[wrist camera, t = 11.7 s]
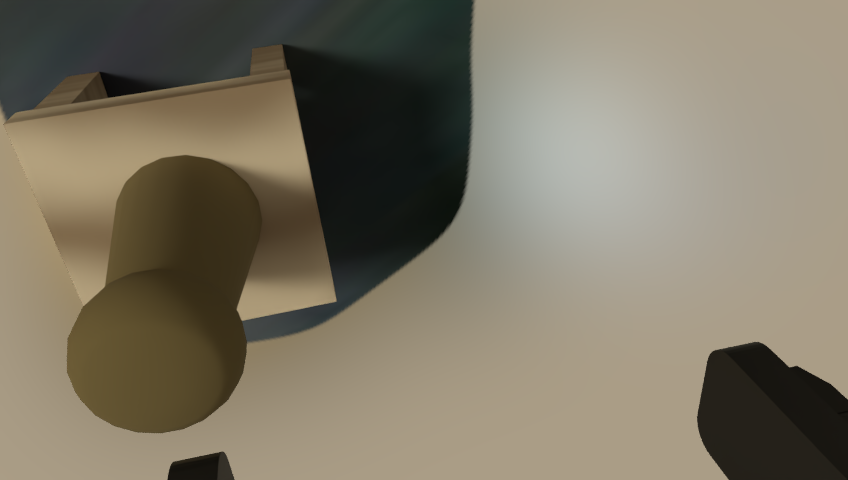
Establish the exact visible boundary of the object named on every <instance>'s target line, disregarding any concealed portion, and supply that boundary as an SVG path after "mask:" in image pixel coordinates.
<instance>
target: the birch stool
mask: <svg viewBox="0 0 848 480" xmlns="http://www.w3.org/2000/svg"><path fill="white" fill-rule="evenodd" d="M3 125H4V127H5V129H6V132H7V134H8V136H9V138H10V141H11V143H12V145H13V148H14V150H15V152H16V154H17V157H18V159H19V161H20V163H21V166H22V168H23V170H24V173H25V175H26V177H27V179H28V182H29V184H30V186H31V188H32V191H33V193H34V195H35V198H36V200H37V202H38V204H39V206H40V209H41V211H42V213H43V215H44V218H45V220H46V222H47V225H48V227H49V229H50V232H51V234H52V236H53V238H54V241H55V243H56V245H57V247H58V250H59V252H60V254H61V257H62V259H63V261H64V263H65V266H66V268H67V270H68V272H69V275H70V277H71V279H72V281H73V284H74V286H75V288H76V290H77V293H78V295H79V297H80V300H81V302H82V304H83V306H84V305H86V304H87V303H88V302H89V301H90V300H91V299H92V298H93V297H94V296H95V295H96V294H98V293H99V292H100V291H101V290H102V289H103V288H104V287H105V282H106V275H107V267H108V260H109V253H110V245H111V238H112V231H113V223H114V216H115V209H116V201H117V199H118V197H119V195H120V192H121V190H122V188H123V186H124V184H125V182H126V181H127V180H128V179H129V178H130V177H131V176H132V175H133V174H135V173H136V172H137V171H138V170H139V169H140V168H141V167H143V166H145V165H147V164H149V163H152V162H154V161H156V160H158V159H160V158H164V157H172V156H180V155H190V156H196V157H203V158H209V159H212V160H214V161H216V162H218V163H220V164H222V165H225V166H227V167H229V168H231V169H232V170H233V171H235V172H236V173H237V174H238V175H239V176H240V177H241V178H242V179H244V180H245V181H246V182H247V183H248V184H249V186H250V188H251V189H252V191H253V193H254V194H255V196H256V198H257V199H258V201H259V206H260V211H261V216H262V226H261V232H260V238H259V242H258V245H257V248H256V251H255V254H254V257H253V260H252V263H251V266H250V269H249V273H248V276H247V279H246V282H245V285H244V288H243V291H242V294H241V297H240V300H239V304H238V307H237V311H238V313H239V315H240V318H241V320H242V321H243V320H248V319H253V318H258V317H262V316H267V315H272V314H277V313H282V312H287V311H292V310H297V309H302V308H307V307H312V306H317V305H322V304H326V303H331V302H336V295H335V289H334V283H333V279H332V274H331V269H330V264H329V259H328V254H327V249H326V245H325V240H324V235H323V230H322V225H321V220H320V215H319V211H318V206H317V201H316V196H315V191H314V186H313V181H312V177H311V172H310V167H309V162H308V157H307V152H306V147H305V143H304V138H303V133H302V128H301V123H300V118H299V113H298V109H297V104H296V99H295V94H294V89H293V84H292V79H291V75H290V70H287V66H286V61H285V56H284V51H283V46H282V44H280V45H274V46H267V47H260V48H254V49H252V59H251V69H250V76H246V77H240V78H233V79H227V80H221V81H214V82H208V83H201V84H195V85H189V86H182V87H176V88H169V89H163V90H157V91H150V92H144V93H137V94H131V95H125V96H118V97H112V98H108V96H107V93H106V90H105V87H104V84H103V82H102V79H101V76H100V73H99V72H95V73H88V74H82V75H75V76H69V77H67V78H65V79H64V80H63V81H62V82H61V83H60V84H59V85H58V86H57V87H56V88H55V89H54V90H53V91H52V92H51V93H50V94H49V95H48V96H47V97H46V98H45V99H44V100H43V101H42V102H41V103H40V104H39V105H37V106H36V107H35V108H34V109H33V110H29V111H22V112H16V113H15V114H14V115H13V116H12V117H11V118H10V119H8V120H7V121H6V122H5V123H4V124H3Z"/></svg>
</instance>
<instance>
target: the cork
mask: <svg viewBox="0 0 848 480" xmlns="http://www.w3.org/2000/svg"><path fill="white" fill-rule="evenodd" d="M261 226H262V216H261V211H260V206H259V201H258V199H257V198H256V196H255V194H254V193H253V191H252V189H251V188H250V186H249V184H248V183H247V182H246V181H245V180H244V179H242V178H241V177H240V176H239V175H238V174H237V173H236V172H235V171H233V170H232V169H231V168H229V167H227V166H225V165H222V164H220V163H218V162H216V161H214V160H212V159H209V158H203V157H196V156H190V155H180V156H172V157H164V158H160V159H158V160H156V161H154V162H152V163H149V164H147V165H145V166H143V167H141V168H140V169H139V170H138V171H137V172H136V173H135V174H133V175H132V176H131V177H130V178H129V179H128V180H127V181H126V182H125V184H124V186H123V188H122V190H121V192H120V195H119V197H118V199H117V201H116V209H115V216H114V223H113V231H112V238H111V245H110V253H109V260H108V267H107V275H106V282H105V287H104V288H103V289H102V290H101V291H100V292H99V293H98V294H96V295H95V296H94V297H93V298H92V299H91V300H90V301H89V302H88V303H87V304H86V305H84V306H83V308H82V310H81V312H80V314H79V316H78V318H77V320H76V322H75V324H74V326H73V328H72V331H71V333H70V335H69V337H68V346H67V373H68V375H69V378H70V380H71V382H72V385H73V388H74V390H75V392H76V394H77V395H78V396H79V398H80V399H81V401H82V402H83V403H85V405H86V406H87V407H88V408H89V409H90V410H91V411H92V412H93V413H94V414H95V415H96V416H98V417H99V418H101V419H103V420H105V421H106V422H108V423H110V424H112V425H114V426H116V427H120V428H123V429H127V430H131V431H134V432H143V433H144V432H145V433H164V432H170V431H175V430H181V429H185V428H187V427H189V426H191V425H193V424H196V423H198V422H200V421H202V420H204V419H205V418H207V417H208V416H209V415H211V414H212V413H213V412H214V411H216V410H217V409H218V408H219V407H220V406H222V405H223V404H224V403H225V402H226V401H227V400H228V399H229V397H230V396H231V394H232V392H233V391H234V389H235V387H236V386H237V384H238V382H239V380H240V378H241V376H242V374H243V369H244V364H245V357H246V346H247V341H246V337H245V332H244V328H243V324H242V320H241V318H240V315H239V313H238V311H237V307H238V304H239V300H240V297H241V294H242V291H243V288H244V285H245V282H246V279H247V276H248V273H249V269H250V266H251V263H252V260H253V257H254V254H255V251H256V248H257V245H258V242H259V238H260V232H261Z"/></svg>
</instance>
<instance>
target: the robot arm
mask: <svg viewBox="0 0 848 480" xmlns="http://www.w3.org/2000/svg"><path fill="white" fill-rule="evenodd" d="M697 422H698V429H699V433H700V436H701V439H702V442H703V444H704V446H705V448H706V449H707V451H708V452H709V454H710V456H712V458H713V459H714V461H715V462H716V463H717V465H718V466H719V467H720V469H721V470H722V471H723V473H724V474H725V475H726V476H727V478H728V479H729V480H848V400H847V399H846V398H845V397H844V396H843V395H842V394H841V393H840V392H839V391H838V390H836V389H835V388H834V387H833V386H832V385H831V384H829V383H827V382H825V381H824V380H822V379H820V378H818V377H816V376H815V375H812V374H811V373H809V372H807V371H805V370H803V369H802V368H800V367H798V366H795V367H790V368H789V367H788V366H787V365H786V364H785V363H784V362H783V361H782V360H781V359H780V358H779V357H778V356H777V355H776V354H775V353H773V352H772V351H771V350H770V349H769V348H768V347H767V346H765V345H764V344H762V343H759V342H753V343H748V344H744V345H739V346H734V347H729V348H725V349H719V350H715V351H713V352H712V353H711V354H710V356H709V358H708V361H707V366H706V372H705V377H704V383H703V388H702V393H701V399H700V404H699V409H698V416H697ZM168 480H234V477H233V474H232V471H231V468H230V465H229V462H228V459H227V456H226V454H225V453H224V452H219V453H214V454H209V455H204V456H199V457H195V458H190V459H185V460H180V461H175V462H173V463H172V464H171V466H170V469H169V474H168Z"/></svg>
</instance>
